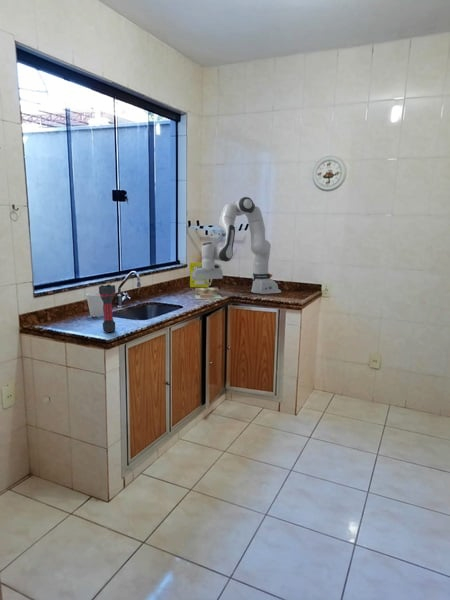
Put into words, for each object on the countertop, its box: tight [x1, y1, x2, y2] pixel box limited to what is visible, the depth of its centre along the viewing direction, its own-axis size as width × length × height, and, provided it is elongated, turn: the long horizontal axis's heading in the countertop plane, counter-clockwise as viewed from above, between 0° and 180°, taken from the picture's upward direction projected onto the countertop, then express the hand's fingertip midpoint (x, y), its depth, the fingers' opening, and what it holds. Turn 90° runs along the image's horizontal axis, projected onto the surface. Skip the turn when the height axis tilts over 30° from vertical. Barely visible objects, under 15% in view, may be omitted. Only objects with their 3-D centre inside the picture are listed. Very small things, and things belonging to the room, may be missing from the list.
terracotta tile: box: [200, 293, 213, 298], centre depth 288 cm, size 9×6×2 cm, turn 93°
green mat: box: [194, 294, 223, 300], centre depth 290 cm, size 18×13×1 cm
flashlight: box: [98, 284, 116, 333], centre depth 198 cm, size 8×8×23 cm
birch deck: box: [194, 287, 220, 295], centre depth 301 cm, size 16×10×4 cm, turn 98°
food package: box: [189, 262, 210, 288], centre depth 332 cm, size 15×1×20 cm, turn 84°
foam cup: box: [85, 292, 104, 317], centre depth 231 cm, size 10×9×13 cm
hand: (208, 285), depth 291 cm, fingers closed
